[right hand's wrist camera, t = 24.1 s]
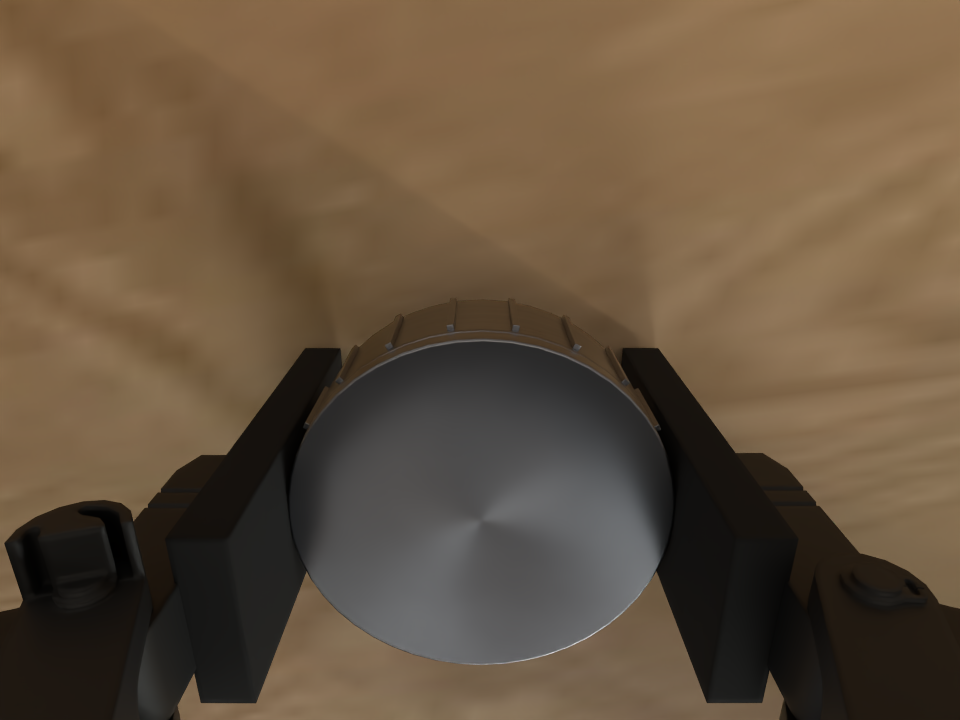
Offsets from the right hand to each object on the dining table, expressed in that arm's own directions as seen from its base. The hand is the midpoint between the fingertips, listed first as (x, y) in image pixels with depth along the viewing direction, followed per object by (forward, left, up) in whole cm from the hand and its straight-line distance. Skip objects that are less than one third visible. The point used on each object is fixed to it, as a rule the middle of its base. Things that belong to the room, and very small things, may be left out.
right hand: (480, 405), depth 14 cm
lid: (0, 0, +4) cm, 4 cm away
